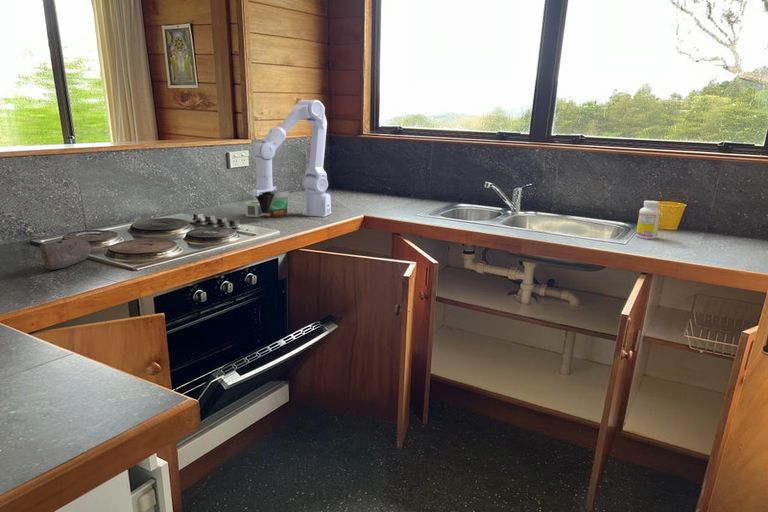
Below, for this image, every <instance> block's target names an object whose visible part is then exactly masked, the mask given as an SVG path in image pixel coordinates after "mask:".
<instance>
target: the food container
mask: <svg viewBox="0 0 768 512" xmlns="http://www.w3.org/2000/svg"><path fill="white" fill-rule="evenodd" d="M270 193H274V197H273V199H272V202H271V205H270V210H269V213H264V215H263V217H264V218H268V219H278V218H285V217H287V216H288V204H289V197H290V196H291V195H290V192H289V189H285V191H273V192H270Z"/></svg>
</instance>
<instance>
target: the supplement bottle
mask: <svg viewBox="0 0 768 512" xmlns="http://www.w3.org/2000/svg"><path fill="white" fill-rule="evenodd" d="M659 205H660V202H659V201H657V200H644V201H643V207H642V208H640V209H639V211H638V219H637V226H636V232H635V236H636V237H637V238H640V239H645V240H654V239H656V238H657V237H658V231H659V224H660V218H661V210H660V209H659V208H658V207H659Z"/></svg>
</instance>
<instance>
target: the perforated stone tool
mask: <svg viewBox="0 0 768 512" xmlns="http://www.w3.org/2000/svg"><path fill="white" fill-rule="evenodd" d="M39 249H40V259H41V261H43V262H44V267H45V269H48V270H51V271H55V270H59V269H64V268H67V267H70V266H74V265H76V264H79V263H81V262H84V261H85V260H86V259H87V258H88V257H89V256H90V254H91V252H92V251H91V250H92V247H91V244H90V242H89V241H87V240H85V239H82V238H81V239H80V238H70V239H61V240H57V241H53V242H47V243H43V244H40V245H39Z"/></svg>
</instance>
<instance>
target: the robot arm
mask: <svg viewBox="0 0 768 512" xmlns="http://www.w3.org/2000/svg"><path fill="white" fill-rule="evenodd" d="M325 109H326V107H325V106H324V104H323V103H322V101H320V100H318V99H313V100H312V99H310V100H309V99H307V100H306V99H301V100H299V101H298V102H297V104H295V105H294V106H293V108H292V110H291V111H290V113H289V114H288V115H287V116H286V118H285V119H284V120H283V121H282V122H281V123H280V125H279V126H277V127H276V126H275V127H271V128H270V129H269V130H268V131H269V132H268V133H267V134H266V135H265V137H263V138H261V140H260V142H257V143H256V144H255V145H254V146H253V149H252V150H251V152H252V155H253V157H255V169H256V170H255V171H256V172H255V174H256V175H255V176H256V187H254V188H253V190H252V197H255V198H256V200H257V202H259V204H260V207H261V210H262V213H269V210H270V205H271V202H272V199H273V197H274V193H270V192H277V185H273V183H274V181H273V158H274V157H275V155H276V151H277V149H278V148H279V147H280V146H281V145H282V144H283V142H285V140H286V139H287V133H288V132H289V131H290V130H291V129H292V128H293V127H294V126H295V125H296V124H298V123H299V121H300V120H306V121H307V122H308V123H309V125H311V127H312V128H311V142H310V150H309V151H310V152H309V162H308V163H309V165H308V168H307V169H306V170H305V172H304V177H303V179H302V187H303V188H304V190H305V203H306V204H305V206H306V207H305V209H306V210H305V211H306V212H304V213H302V216H307V217H309V216H310V217H322V218H325V217H327V216H329V215H331V214H332V197H331V194H330V193H327V192H326V191H327V189H328V187H329V181H328V174H327V172H326V170H325V169H324V161H325V149H326V140H327V139H326V137H327V129H328V127H327V126H328V121H327V117H326V114H325V113H326V110H325Z"/></svg>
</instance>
